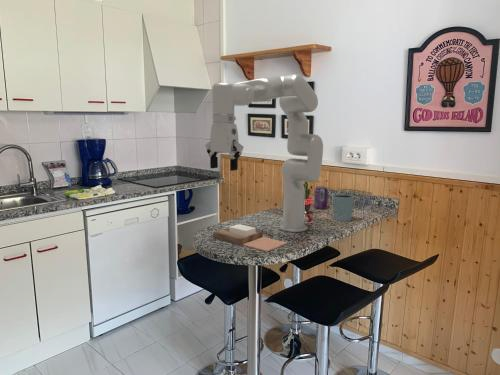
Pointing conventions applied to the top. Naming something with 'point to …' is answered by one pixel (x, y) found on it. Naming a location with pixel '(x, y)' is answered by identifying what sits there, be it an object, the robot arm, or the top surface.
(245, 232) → the tile
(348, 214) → the grey-blue bin
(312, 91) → the robot arm
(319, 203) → the beverage can
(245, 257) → the top surface
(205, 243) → the top surface
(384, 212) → the top surface
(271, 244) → the mat
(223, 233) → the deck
